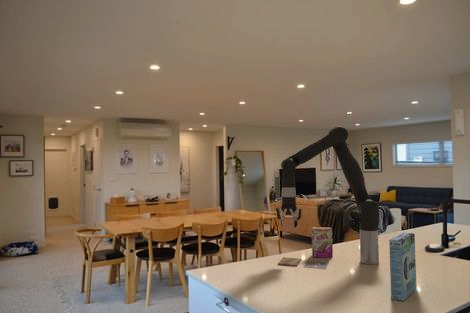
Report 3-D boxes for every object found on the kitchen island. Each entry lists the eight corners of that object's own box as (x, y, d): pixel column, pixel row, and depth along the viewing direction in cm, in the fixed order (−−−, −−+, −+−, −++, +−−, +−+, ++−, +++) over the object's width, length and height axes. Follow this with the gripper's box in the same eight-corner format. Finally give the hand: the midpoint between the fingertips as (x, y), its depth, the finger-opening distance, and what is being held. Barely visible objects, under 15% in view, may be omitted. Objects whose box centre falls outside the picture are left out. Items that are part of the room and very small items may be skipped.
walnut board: (301, 260, 198) (301, 258, 198) (296, 266, 186) (296, 264, 186) (283, 259, 202) (283, 257, 202) (277, 265, 189) (277, 263, 189)
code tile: (328, 262, 194) (328, 262, 194) (325, 269, 181) (325, 269, 181) (307, 260, 197) (307, 260, 197) (303, 267, 184) (303, 267, 184)
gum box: (403, 301, 137) (402, 241, 138) (389, 298, 141) (388, 239, 141) (417, 288, 152) (415, 233, 153) (404, 285, 156) (402, 232, 156)
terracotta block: (296, 229, 197) (296, 216, 198) (293, 231, 189) (293, 218, 189) (285, 228, 199) (285, 215, 200) (282, 231, 191) (281, 218, 191)
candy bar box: (312, 257, 204) (312, 228, 204) (311, 255, 209) (311, 227, 209) (333, 258, 202) (332, 228, 203) (331, 255, 207) (331, 227, 208)
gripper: (303, 195, 196) (303, 226, 195) (277, 195, 201) (277, 225, 200) (300, 196, 189) (301, 229, 188) (274, 196, 194) (274, 227, 193)
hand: (289, 227), depth 194 cm, fingers closed on terracotta block, 6 cm apart
